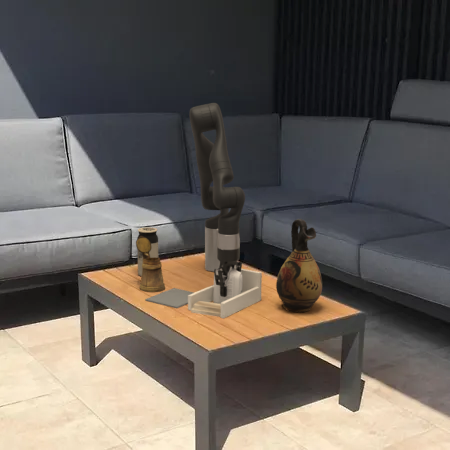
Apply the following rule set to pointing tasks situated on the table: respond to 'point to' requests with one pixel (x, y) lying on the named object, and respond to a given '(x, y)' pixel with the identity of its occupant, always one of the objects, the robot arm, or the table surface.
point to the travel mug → (153, 238)
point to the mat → (171, 298)
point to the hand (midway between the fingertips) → (227, 294)
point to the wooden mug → (150, 268)
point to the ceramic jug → (299, 272)
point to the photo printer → (229, 287)
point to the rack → (237, 303)
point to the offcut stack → (207, 308)
